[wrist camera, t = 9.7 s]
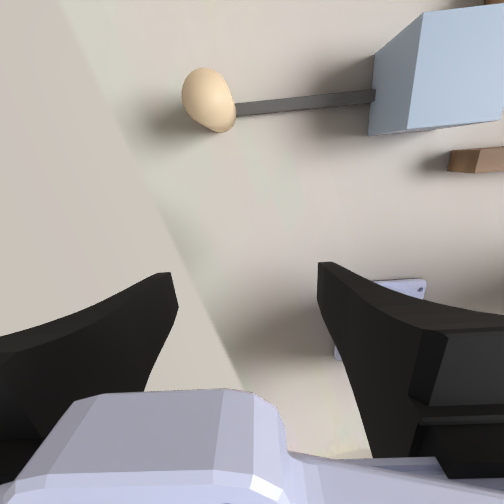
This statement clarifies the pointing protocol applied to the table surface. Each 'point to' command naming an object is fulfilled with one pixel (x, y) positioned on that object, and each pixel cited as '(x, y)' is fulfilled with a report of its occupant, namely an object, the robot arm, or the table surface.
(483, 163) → the walnut lane
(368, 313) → the robot arm
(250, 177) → the table surface
